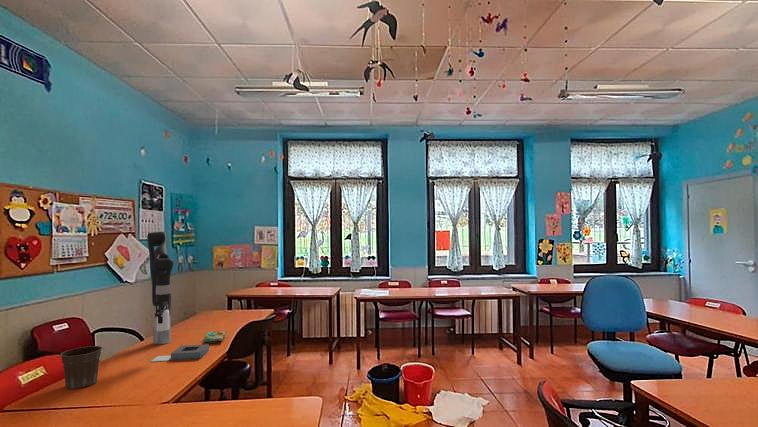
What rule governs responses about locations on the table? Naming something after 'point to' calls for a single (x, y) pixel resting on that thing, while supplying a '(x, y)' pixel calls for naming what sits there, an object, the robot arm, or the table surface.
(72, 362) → the plant pot
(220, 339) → the puzzle game
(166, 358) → the mat
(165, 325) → the can
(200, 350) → the hollow block
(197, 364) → the table surface
